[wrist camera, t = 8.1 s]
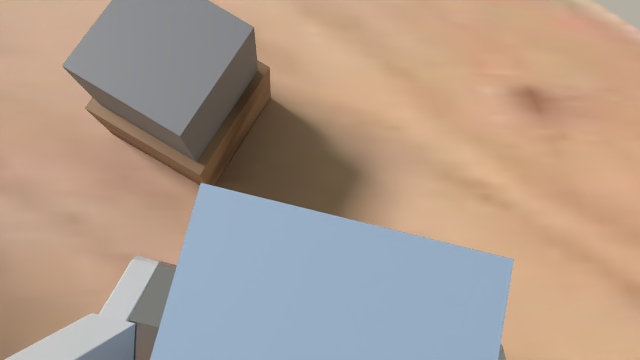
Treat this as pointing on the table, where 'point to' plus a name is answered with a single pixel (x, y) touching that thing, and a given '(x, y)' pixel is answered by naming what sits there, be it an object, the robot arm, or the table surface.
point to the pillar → (324, 289)
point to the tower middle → (167, 67)
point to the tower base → (220, 145)
